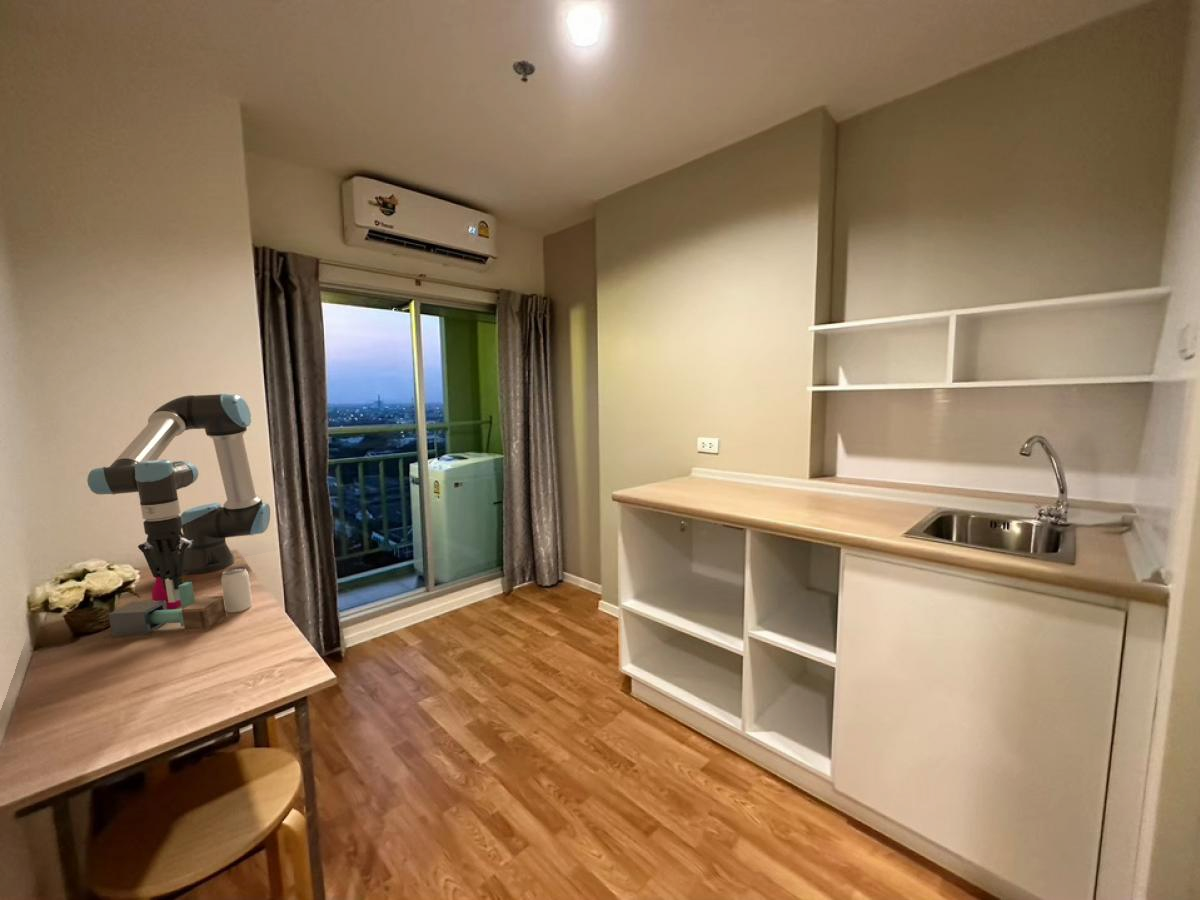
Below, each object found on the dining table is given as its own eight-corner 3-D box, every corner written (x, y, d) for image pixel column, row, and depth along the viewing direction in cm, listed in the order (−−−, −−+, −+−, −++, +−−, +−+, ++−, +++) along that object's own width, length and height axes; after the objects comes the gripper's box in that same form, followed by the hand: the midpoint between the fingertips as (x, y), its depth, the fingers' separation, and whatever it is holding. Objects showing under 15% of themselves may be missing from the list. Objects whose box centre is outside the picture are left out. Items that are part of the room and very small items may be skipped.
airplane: (142, 628, 129) (135, 589, 128) (157, 620, 134) (150, 582, 132) (203, 625, 130) (197, 586, 129) (216, 616, 135) (210, 579, 133)
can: (258, 603, 146) (252, 566, 144) (240, 613, 139) (234, 574, 137) (238, 603, 146) (233, 566, 144) (220, 613, 140) (214, 574, 138)
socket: (206, 619, 136) (203, 597, 135) (226, 618, 137) (223, 595, 136) (185, 633, 129) (181, 609, 128) (206, 631, 129) (203, 608, 128)
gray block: (136, 623, 135) (132, 602, 134) (169, 622, 135) (165, 600, 134) (112, 636, 128) (108, 613, 127) (147, 634, 128) (143, 611, 127)
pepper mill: (171, 612, 142) (160, 547, 139) (147, 612, 142) (136, 548, 139) (192, 601, 149) (182, 539, 146) (169, 601, 149) (159, 540, 146)
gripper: (123, 522, 124) (138, 607, 127) (175, 520, 124) (189, 605, 128) (149, 514, 131) (162, 595, 134) (198, 512, 132) (210, 593, 135)
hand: (175, 600), depth 131 cm, fingers closed
